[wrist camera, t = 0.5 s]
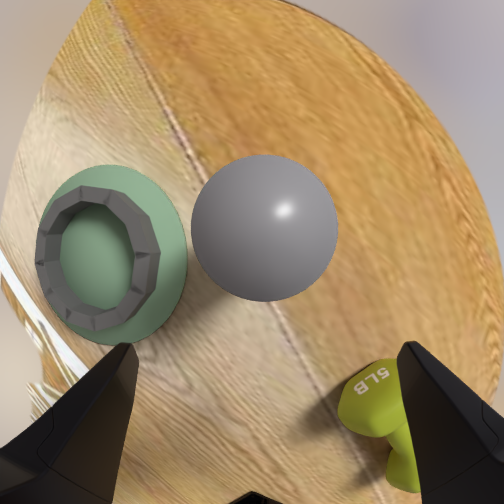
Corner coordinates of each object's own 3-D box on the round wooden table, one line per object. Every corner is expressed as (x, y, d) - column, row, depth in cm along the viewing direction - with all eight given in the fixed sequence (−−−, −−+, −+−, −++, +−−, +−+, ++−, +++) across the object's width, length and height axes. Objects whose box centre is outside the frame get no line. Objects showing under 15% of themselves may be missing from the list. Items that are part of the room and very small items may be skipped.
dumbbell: (322, 387, 24) (342, 433, 17) (394, 338, 24) (434, 368, 17) (381, 469, 25) (401, 508, 18) (436, 432, 25) (465, 464, 17)
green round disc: (121, 375, 24) (108, 389, 21) (18, 263, 24) (1, 266, 21) (228, 246, 23) (224, 248, 20) (99, 132, 23) (84, 123, 20)
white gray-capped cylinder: (262, 277, 23) (271, 330, 10) (212, 234, 23) (162, 235, 10) (305, 228, 23) (365, 221, 10) (255, 184, 23) (257, 127, 10)
